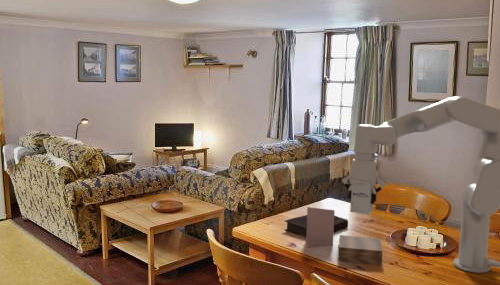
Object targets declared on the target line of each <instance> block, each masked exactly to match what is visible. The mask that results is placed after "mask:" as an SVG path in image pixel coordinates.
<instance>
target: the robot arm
mask: <svg viewBox="0 0 500 285" xmlns="http://www.w3.org/2000/svg"><path fill="white" fill-rule="evenodd" d="M455 121H457V122H459V123H461V124H464V125H467V126H468V127H469V126H470V127H472V128H475V129H479V130H480V131H481V135H482V139H481V143H480V148H479V151H478V154H477V156H476V160H475V162H474V165H473V170H472V171H473V174H474V176H475V178H476V179H477V182H473V183H470V184H468V185H467V186H466V187H464V190H463V191H462V194H461V224H460V232H459V233H460V234H459V245H458V254H457V255H458V256H457V257H455V258H454V259H453V260H452V261H453V266H455V267H456V268H457V269H460V270H462V271H466V272H470V273H480V274H482V273H488V272H490V271H491V267H494V268H495V267H496V268H500V261H497V259H490V258H489V257H488V246H489V234H490V227H491V226H490V225H491V216H493V215H495V214H496V213H497V212H498V210H499V208H500V109H499V108H496V107H494V106H491V105H487V104H485V103H482V102H478V101H476V100H473V99H470V98H468V97H464V96H460V95H454V96H451V97H447V98H445V99H442V100H440V101H438V102H435V103H432V104H430V105H428V106H425V107H422V108H420V109H417V110H414V111H411V112H409V113H406V114H404V115H401V116H398V117H395V118H392V119H390V120H387V121H385V122H383V123H381V124H379V125H378V126H377V125H376V126H375V125H374V124H370V123H365V124H364V123H363V124H361V123H360V124H358V125H357V126H356V127H355V142H354V144H355V145H354V158H353V159H352V162H351V166H350V172H349V174H348V175H347V176H345V177H344V178H341V179H342V180H341V182H342V183H343V185H344V186H345V188H346V189H347V190H348V199H349V201H350V202H351V192H352V180H359V181H367V182H372V192H373V193H372V197H371V204H373V205H374V203H376V201H377V195H378V193H379V192H380V191H381V190H382V189H383V188H384V187H385V186H386V183H385V182H384V181H383V179H381V178H379V174H378V172H379V167H378V161H377V159H379V158H380V155H379V154H377V153H376V145H381V146H387V147H388V146H389V147H390V146H393V145H394V144H396V142H397V141H398V139H399V138H401V137H403V136H406V135H409V134H413V133H424V132H429V131H431V130H434V129H437V128H438V127H441V126H444V125H447V124H450V123H452V122H455ZM348 180H349V182H348ZM377 184H379V186H378V187H377Z"/></svg>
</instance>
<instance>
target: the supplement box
mask: <svg viewBox="0 0 500 285" xmlns="http://www.w3.org/2000/svg"><path fill="white" fill-rule="evenodd" d="M372 193H373V192H372V182H367V181H359V180H352V192H351V201H350V210H349V212H350V213H356V214H362V215H366V216H367V215H368V216H369V215H370V214H371V213H372V212H373V211H374V204H371V197H372Z"/></svg>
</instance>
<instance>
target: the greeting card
mask: <svg viewBox="0 0 500 285" xmlns="http://www.w3.org/2000/svg"><path fill="white" fill-rule="evenodd" d="M306 215H307V232H306V236H305V238H306V239H305V242H307V243H306V244H307V246H306V247H307V248H316V247H324V246H325V247H326V246H327V247H328V246H334V234H335V233H334V215H335V210H334V209H326V208H325V209H324V208H316V207H307V209H306Z"/></svg>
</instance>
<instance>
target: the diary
mask: <svg viewBox="0 0 500 285" xmlns="http://www.w3.org/2000/svg"><path fill="white" fill-rule="evenodd" d="M284 222H285V223H286V229H284V231H286V232H289V233H291V234H294V235H298V236H304V237H306V232H307V214H306V215H302V216H296V217H292V218H290V219H286V220H284ZM348 227H349V220H348V219H347V218H343V217H340V216H337V215H335V214H334V233H333V234H335V233H337V232H339V231H343V230H346V229H348Z"/></svg>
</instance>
